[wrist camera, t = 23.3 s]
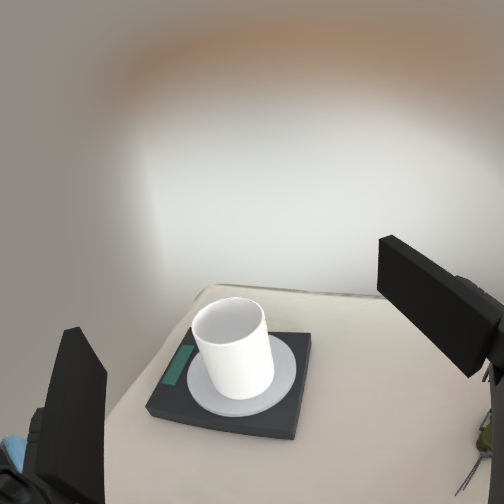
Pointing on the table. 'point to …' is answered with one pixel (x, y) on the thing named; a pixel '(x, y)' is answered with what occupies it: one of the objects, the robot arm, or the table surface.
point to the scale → (231, 410)
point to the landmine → (482, 446)
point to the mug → (235, 347)
